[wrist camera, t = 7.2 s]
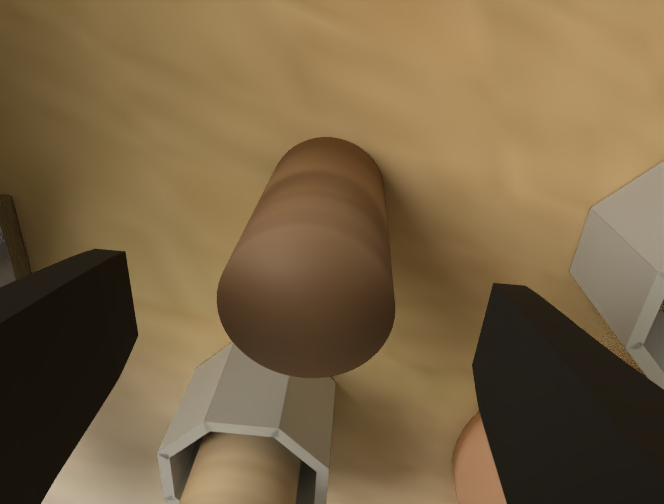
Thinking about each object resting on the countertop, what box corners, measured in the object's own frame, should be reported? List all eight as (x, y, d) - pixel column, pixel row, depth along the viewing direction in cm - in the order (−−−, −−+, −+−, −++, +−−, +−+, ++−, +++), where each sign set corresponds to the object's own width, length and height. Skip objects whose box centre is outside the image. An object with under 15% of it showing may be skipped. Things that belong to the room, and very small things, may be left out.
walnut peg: (377, 248, 16) (384, 385, 11) (270, 239, 17) (220, 370, 11) (390, 142, 15) (406, 237, 9) (271, 132, 15) (212, 221, 9)
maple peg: (307, 432, 21) (285, 601, 15) (222, 424, 21) (169, 589, 15) (311, 366, 19) (288, 528, 13) (219, 358, 19) (156, 515, 13)
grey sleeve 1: (329, 451, 21) (322, 543, 18) (200, 439, 21) (168, 528, 18) (338, 349, 18) (332, 433, 15) (191, 336, 19) (151, 416, 15)
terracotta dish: (650, 544, 23) (664, 571, 22) (434, 523, 23) (438, 549, 22) (750, 381, 18) (774, 405, 17) (477, 357, 18) (484, 380, 17)
